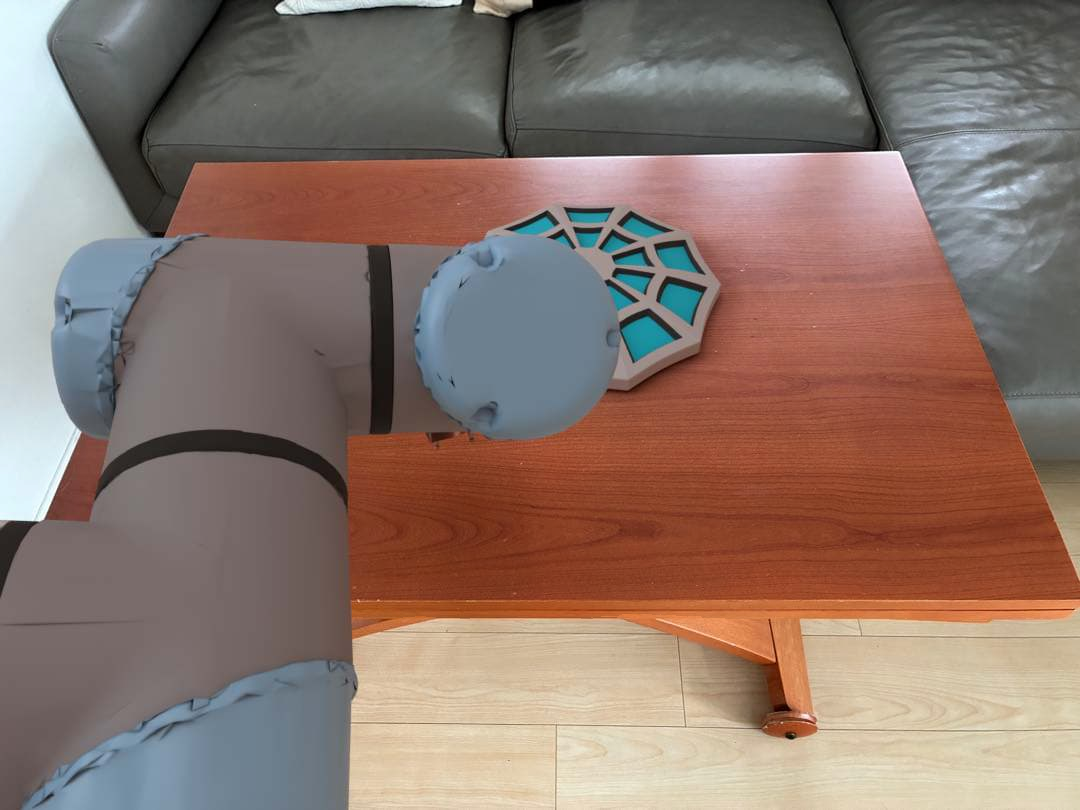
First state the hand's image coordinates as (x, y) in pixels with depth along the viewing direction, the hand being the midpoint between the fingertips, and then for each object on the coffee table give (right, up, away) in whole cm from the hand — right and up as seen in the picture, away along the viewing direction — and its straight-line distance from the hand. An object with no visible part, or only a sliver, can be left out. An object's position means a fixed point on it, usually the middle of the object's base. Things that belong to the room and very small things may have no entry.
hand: (421, 346), depth 64 cm
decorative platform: (+15, +8, +27) cm, 32 cm away
